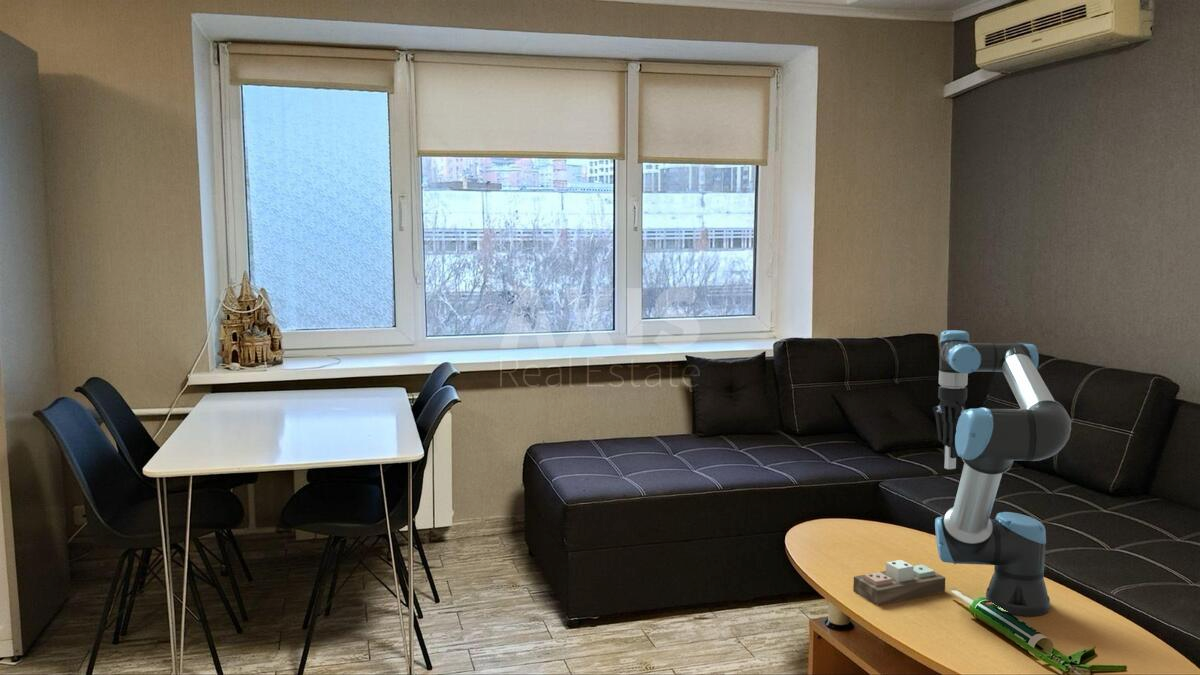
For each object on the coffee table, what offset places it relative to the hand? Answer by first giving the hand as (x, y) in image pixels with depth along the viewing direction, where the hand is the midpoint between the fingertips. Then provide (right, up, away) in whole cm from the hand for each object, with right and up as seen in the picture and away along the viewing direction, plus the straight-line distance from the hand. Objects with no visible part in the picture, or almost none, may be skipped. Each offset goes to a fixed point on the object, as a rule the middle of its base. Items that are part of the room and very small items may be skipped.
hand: (950, 468), depth 256 cm
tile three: (-25, -32, -14) cm, 43 cm away
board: (-18, -31, -12) cm, 38 cm away
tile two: (-18, -29, -12) cm, 36 cm away
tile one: (-12, -31, -9) cm, 34 cm away
